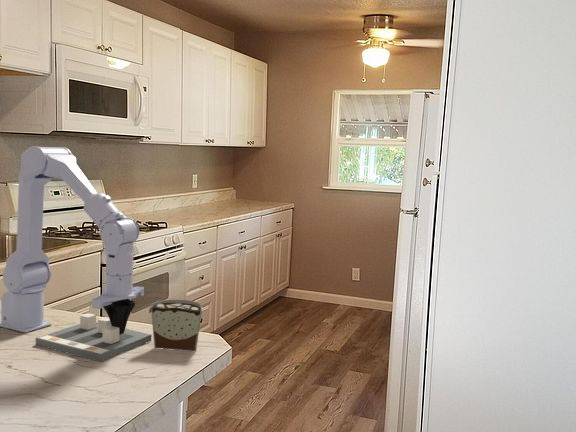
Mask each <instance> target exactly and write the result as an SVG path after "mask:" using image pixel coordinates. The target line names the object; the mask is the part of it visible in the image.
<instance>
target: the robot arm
mask: <svg viewBox="0 0 576 432" xmlns="http://www.w3.org/2000/svg"><path fill="white" fill-rule="evenodd" d="M53 179H61V180H62V181H63V182H64V183H65V184H66V185H67V186H69V188H70V189H71V190H72V191H73V192H74V193H75V194H76V195H77V196H78V197H79V199H81V200H82V201H83V210H84V212H85V213H86V214H87V216H88V217H89V218H90V219H91V220H92V222H93V223H94V224H95V225H96V226H97V228H99V230H100V231H101V232H100V239H101V241H102V243H103V245H104V252H105V254H106V255H105V256H106V257H105V261H106V262H105V292H104V293H101V294H100V295H98V296H97V297H94V298H92V299H91V308H92V309H97V310H101V309H104V311H105V312H106V314H107V317H108V318H109V319H110V322H111V326H114V327H119V335H121V334H123V333H124V331H125V329H126V326H127V323H128V320H129V317H130V315H131V313H132V311H133V309H134V307H136V301H134V300H133V299H137V297H143V296H145V287H143V286H138V285H137V286H133V285H134V283H133V279H134V244H135V242H137V240H138V238H139V237H140V228H139V225H138V224H137V222H136V220H135V219H133V218H132V217H127V216H126V215H125V214H124V213H123V212H122V211H120V210H119V208H118V207H117V206H116V205H115V203H113V201H112V198H111V196H109V195H106V193H102V192H100V193H99V192H97V190H96V189H95V188H94V187H93V185H92V184H91V182H90V181H89V179H88V178H87V177H86V175H85V174H84V173H83V171H82V170H81V169H80V166H78V164H77V158H76V156H75V155H74V154H73V153H72V152H71V149H69V148H67V147H66V146H59V147H58V146H57V147H55V146H53V147H51V146H49V147H48V146H37V145H33V146H29V147H28V148H27V149H25V150H24V151H23V152H22V153H21V155H20V172H19V173H18V192H17V193H18V196H17V200H18V201H17V222H16V223H17V225H16V226H17V227H16V228H17V229H16V250H15V251H14V252H13V253H11V254H10V255H9V256H8V257H7V258H6V260H5V267H4V269H3V272H2V283H3V285H4V287H5V288H6V290H5V291H4V292H3V294H2V297H1V301H0V302H1V303H0V307H1V308H0V313H1V315H0V318H1V320H0V327H2V328H5V329H10V330H14V331H17V332H22V333H28V332H31V331H35V330H39V329H41V328H46V327H48V326H49V327H50V326H51V325H52V324H53V322H50V321H46V320H44V319H45V318H44V317H45V316H44V315H45V313H44V312H45V309H44V307H45V305H44V304H45V301H44V299H45V295H44V294H45V293H44V291H45V289H47V284H48V283H49V282H50V281H51V279H52V270H51V266H50V257H49V255H48V254H46V253H45V252H44V251H43V250H42V248H43V226H44V225H43V224H44V223H43V221H44V220H43V219H44V200H45V199H44V196H45V195H44V194H45V193H44V192H45V185H47V184H48V183H49V182H51V181H52V180H53Z"/></svg>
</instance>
